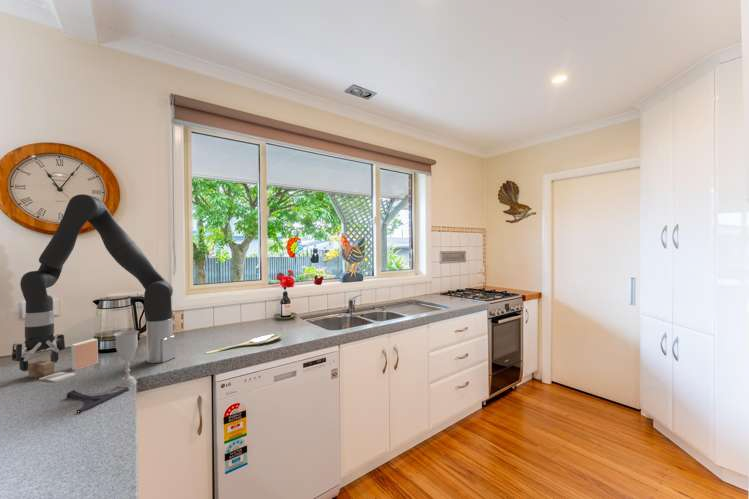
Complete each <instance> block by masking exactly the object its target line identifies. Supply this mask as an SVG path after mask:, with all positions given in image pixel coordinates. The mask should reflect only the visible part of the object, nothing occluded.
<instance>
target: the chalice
mask: <svg viewBox="0 0 749 499" xmlns="http://www.w3.org/2000/svg"><path fill="white" fill-rule="evenodd" d="M139 333H140V331H139V330H137V329H134V330H124V331H119V332H116V333H114V334H113V336H114V337H115V349H116V352H117V354H118V355H119V357H120V358H121V360H123V361H125V364H124V365H123V366H124V367H125V369H124V372H125V376H124V377H123V378H122V379H120V382H119V384H118V388H126V387H128V388H129V387H131V386H134V385H136V384H137V383H138V382H137V380H136V378H135V376H134V375H130V371H131V369H130V366H131V364H130V360H131V359H132V358H133V356H134V354H135V353H136V351H137V348H138V346H139V345H138V341H139V340H138V334H139Z"/></svg>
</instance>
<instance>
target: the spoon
mask: <svg viewBox="0 0 749 499" xmlns="http://www.w3.org/2000/svg"><path fill="white" fill-rule="evenodd" d="M281 337H282V334H280V333H277V334H276V333H275V334H268V335H262V336H259V337H255V338H253V339H250V340H248V341H245V342H242V343H239V344H235V345H229V346H224V347H221V348H217V349H214V350H213V349H212V350H209V351H206V352H205V353H204V354H206V355H210V354H216V353H219V352H222V351H225V350H228V349H232V348H235V347H243V346H257V345H258V346H259V345H263V344H264V345H265V344H268V343H271V342H273V341H276V340H278V339H280V338H281Z"/></svg>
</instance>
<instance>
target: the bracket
mask: <svg viewBox="0 0 749 499" xmlns="http://www.w3.org/2000/svg"><path fill="white" fill-rule="evenodd" d="M129 391H130V387H129V386H128V387H123V388H122V389H120V390H118V391H114V392H111V393H105V394H100V395H98V394H97V395H87V394H83V393H81V392H79V391H76V390H75V389H73V390H71V391H68V392H67V393H66V396H65V397H66V399H69V400H70V399H71V400H79V399H81V401H82V402H84V404H83V405H82V407H80V408H78V409H77V410H76V413H77V412H78V411H80V412H83V411H85V412H87V411H89V410H91V409H93V408H95V407H97V406H99V404H100V405H102V404H103V403H106V402H108V401H109V400H112V399H114V398H116V397H119V396H120V395H123V394H124V393H126V392H129ZM88 409H89V410H88ZM86 410H87V411H86ZM80 412H79V413H80ZM83 413H84V412H83Z"/></svg>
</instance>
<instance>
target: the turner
mask: <svg viewBox="0 0 749 499" xmlns="http://www.w3.org/2000/svg"><path fill="white" fill-rule="evenodd" d="M27 372H28V378H38V379H39V381H42V382H43V381H45V382H53V383H56V382H59V381H62V380H64V379H68V378H71V377H73V376H75V375H76V373H73V372H63V371H58V372H55V363H54V362H51V361H48V360H36V361H32V362H28V371H27Z"/></svg>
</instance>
